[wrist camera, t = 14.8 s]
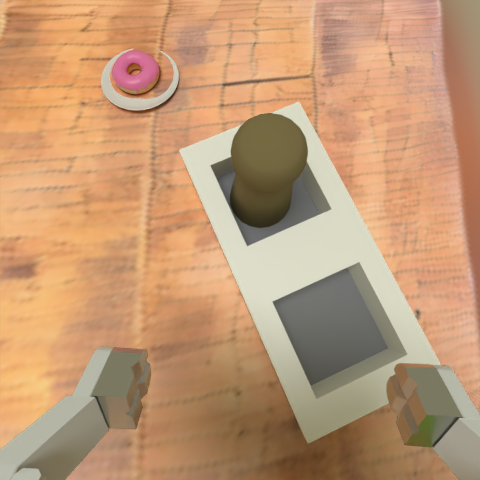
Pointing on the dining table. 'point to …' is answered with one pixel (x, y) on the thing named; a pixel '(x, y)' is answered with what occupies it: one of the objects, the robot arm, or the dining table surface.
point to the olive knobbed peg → (266, 168)
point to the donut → (135, 80)
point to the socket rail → (313, 287)
